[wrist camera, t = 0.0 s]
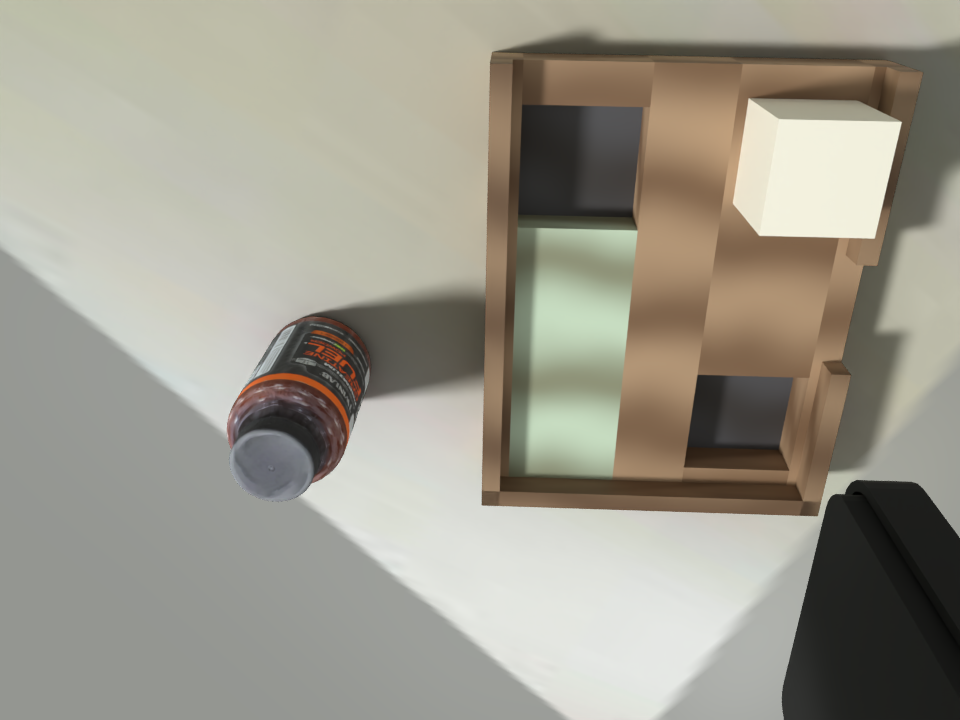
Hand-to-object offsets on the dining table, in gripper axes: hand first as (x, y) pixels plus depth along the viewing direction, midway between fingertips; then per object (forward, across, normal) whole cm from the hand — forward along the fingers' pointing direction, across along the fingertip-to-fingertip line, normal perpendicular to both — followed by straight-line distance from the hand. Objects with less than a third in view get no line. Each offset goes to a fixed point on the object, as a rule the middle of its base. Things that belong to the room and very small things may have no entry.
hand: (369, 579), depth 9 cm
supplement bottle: (+37, +9, +16) cm, 41 cm away
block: (+34, -15, +3) cm, 37 cm away
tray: (+37, -10, +11) cm, 40 cm away
